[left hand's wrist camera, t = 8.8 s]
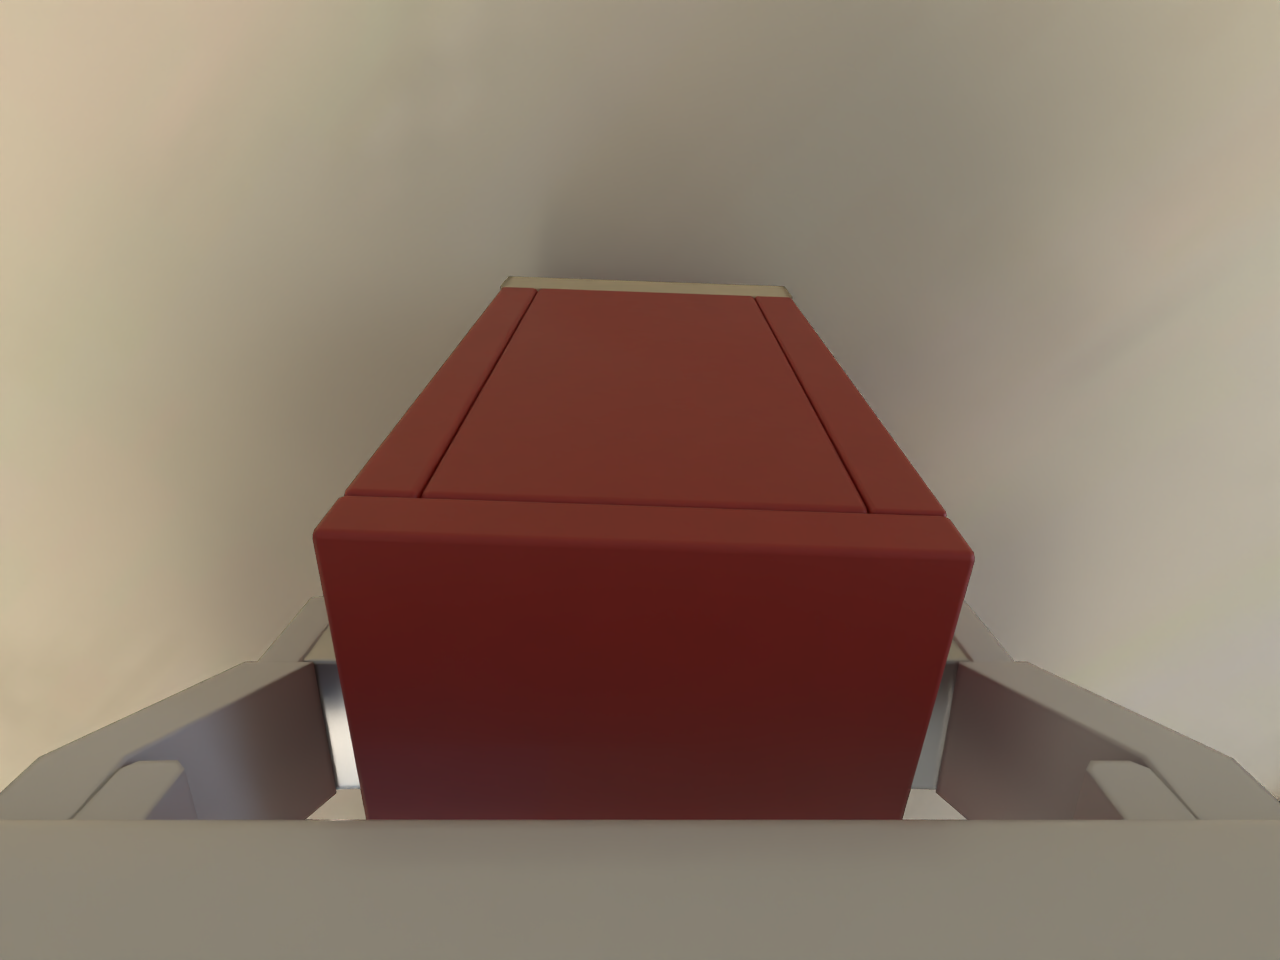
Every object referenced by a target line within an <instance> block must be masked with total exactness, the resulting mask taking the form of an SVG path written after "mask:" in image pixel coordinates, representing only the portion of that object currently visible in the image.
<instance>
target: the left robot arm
mask: <svg viewBox="0 0 1280 960" xmlns="http://www.w3.org/2000/svg"><path fill="white" fill-rule="evenodd" d="M336 789H360V784H359V778H358V773H357V768H356V763H355V758H354V752H353V747H352V742H351V737H350V731H349V726H348V721H347V716H346V710H345V705H344V700H343V695H342V690H341V684H340V679H339V674H338V669H337V663H336V658H335V653H334V648H333V642H332V637H331V632H330V627H329V622H328V616H327V611H326V606H325V601H324V596H319V597H312V598H311V599H310V600H309V601H308V602H307V603H306V604H305V605H304V607H303V608H302V609H301V610H300V611H299V613H298V614H297V615H296V616H295V617H294V619H293V620H292V621H291V622H290V623H289V625H288V626H287V627H286V628H285V629H284V631H283V632H282V633H281V634H280V635H279V636H278V638H277V639H276V640H275V641H274V642H273V644H272V645H271V646H270V647H269V648H268V650H267V651H266V652H265V653H264V654H263V656H262V657H261V658H260V659H259V660H258V662H244V663H241V664H239V665H237V666H235V667H233V668H231V669H228V670H226V671H224V672H222V673H220V674H218V675H215V676H213V677H211V678H209V679H207V680H205V681H203V682H200V683H198V684H196V685H194V686H192V687H190V688H187V689H185V690H183V691H181V692H179V693H177V694H174V695H172V696H170V697H168V698H166V699H164V700H162V701H159V702H157V703H155V704H153V705H151V706H149V707H146V708H144V709H142V710H140V711H138V712H136V713H133V714H131V715H129V716H127V717H125V718H123V719H120V720H118V721H116V722H114V723H112V724H110V725H108V726H105V727H103V728H101V729H99V730H97V731H95V732H92V733H90V734H88V735H86V736H84V737H82V738H79V739H77V740H75V741H73V742H71V743H69V744H67V745H64V746H62V747H60V748H58V749H56V750H54V751H51V752H49V753H47V754H45V755H43V756H41V757H39V758H37V759H36V760H35V761H34V762H33V763H32V764H31V765H30V766H29V767H28V768H27V769H26V770H24V771H23V772H22V773H21V774H20V775H19V776H18V777H17V778H16V779H15V780H14V781H12V782H11V783H10V784H9V785H8V786H7V787H6V788H5V789H4V790H3V791H2V792H1V793H0V960H1280V802H1279V801H1278V800H1277V799H1276V798H1275V797H1273V796H1272V795H1271V794H1270V793H1269V792H1268V791H1267V790H1266V789H1265V788H1264V787H1263V786H1262V785H1261V784H1260V783H1259V782H1258V781H1256V780H1255V779H1254V778H1253V777H1252V776H1251V775H1250V774H1249V773H1248V772H1247V771H1246V770H1245V769H1244V768H1243V767H1242V766H1241V765H1240V764H1238V763H1237V762H1236V761H1235V760H1234V759H1233V758H1231V757H1229V756H1227V755H1225V754H1222V753H1220V752H1218V751H1216V750H1214V749H1212V748H1210V747H1208V746H1205V745H1203V744H1201V743H1199V742H1197V741H1195V740H1193V739H1190V738H1188V737H1186V736H1184V735H1182V734H1180V733H1178V732H1176V731H1173V730H1171V729H1169V728H1167V727H1165V726H1163V725H1161V724H1159V723H1156V722H1154V721H1152V720H1150V719H1148V718H1146V717H1144V716H1141V715H1139V714H1137V713H1135V712H1133V711H1131V710H1129V709H1127V708H1124V707H1122V706H1120V705H1118V704H1116V703H1114V702H1112V701H1109V700H1107V699H1105V698H1103V697H1101V696H1099V695H1097V694H1095V693H1092V692H1090V691H1088V690H1086V689H1084V688H1082V687H1080V686H1078V685H1075V684H1073V683H1071V682H1069V681H1067V680H1065V679H1063V678H1060V677H1058V676H1056V675H1054V674H1052V673H1050V672H1048V671H1046V670H1043V669H1041V668H1039V667H1037V666H1035V665H1033V664H1031V663H1028V662H1015V661H1014V660H1013V659H1012V658H1011V657H1010V655H1009V654H1008V653H1007V652H1006V651H1005V649H1004V648H1003V647H1002V646H1001V644H1000V643H999V642H998V641H997V640H996V638H995V637H994V636H993V635H992V634H991V632H990V631H989V630H988V629H987V627H986V626H985V625H984V624H983V623H982V621H981V620H980V619H979V618H978V617H977V615H976V614H975V613H974V612H973V610H972V609H971V608H970V607H969V606H968V604H967V603H966V602H965V601H963V604H962V608H961V611H960V615H959V618H958V622H957V626H956V629H955V633H954V636H953V640H952V643H951V647H950V651H949V654H948V658H947V661H946V665H945V668H944V672H943V675H942V679H941V683H940V686H939V690H938V693H937V697H936V700H935V704H934V708H933V711H932V715H931V718H930V722H929V725H928V729H927V733H926V736H925V740H924V743H923V747H922V750H921V754H920V758H919V761H918V765H917V768H916V772H915V775H914V779H913V783H912V786H911V789H936V793H937V794H938V795H940V796H941V797H942V798H943V799H944V800H945V801H946V802H948V803H949V804H950V805H951V806H952V807H953V808H955V809H956V810H957V811H958V812H959V813H960V814H962V815H963V816H964V817H965V818H966V819H967V820H305V819H306V818H308V817H309V816H310V815H311V814H312V813H313V812H315V811H316V810H317V809H318V808H319V807H320V806H322V805H323V804H324V803H325V802H326V801H328V800H329V799H330V798H331V797H332V796H333V795H335V794H336Z"/></svg>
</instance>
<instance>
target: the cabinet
mask: <svg viewBox="0 0 1280 960" xmlns="http://www.w3.org/2000/svg"><path fill="white" fill-rule="evenodd" d="M313 543H314V548H315V554H316V559H317V564H318V569H319V574H320V580H321V585H322V590H323V595H324V601H325V606H326V611H327V616H328V622H329V627H330V632H331V637H332V642H333V648H334V653H335V658H336V663H337V669H338V674H339V679H340V684H341V690H342V695H343V700H344V705H345V710H346V716H347V721H348V726H349V731H350V737H351V742H352V747H353V752H354V758H355V763H356V768H357V773H358V778H359V784H360V789H361V794H362V799H363V805H364V810H365V815H366V820H902V818H903V815H904V811H905V808H906V804H907V800H908V797H909V793H910V790H911V786H912V783H913V779H914V775H915V772H916V768H917V765H918V761H919V758H920V754H921V750H922V747H923V743H924V740H925V736H926V733H927V729H928V725H929V722H930V718H931V715H932V711H933V708H934V704H935V700H936V697H937V693H938V690H939V686H940V683H941V679H942V675H943V672H944V668H945V665H946V661H947V658H948V654H949V651H950V647H951V643H952V640H953V636H954V633H955V629H956V626H957V622H958V618H959V615H960V611H961V608H962V604H963V601H964V597H965V593H966V590H967V586H968V583H969V579H970V576H971V572H972V568H973V565H974V561H975V557H974V552H973V551H972V549H971V548H970V547H969V545H968V544H967V542H966V541H965V540H964V538H963V537H962V536H961V534H960V533H959V531H958V530H957V529H956V527H955V526H954V524H953V523H952V522H951V520H950V519H948V518H946V511H945V510H944V509H943V507H942V506H941V505H940V503H939V502H938V500H937V499H936V498H935V496H934V495H933V493H932V492H931V491H930V489H929V488H928V487H927V485H926V484H925V482H924V481H923V480H922V478H921V477H920V476H919V474H918V473H917V471H916V470H915V469H914V467H913V466H912V464H911V463H910V462H909V460H908V459H907V458H906V456H905V455H904V453H903V452H902V451H901V449H900V448H899V447H898V445H897V444H896V442H895V441H894V440H893V438H892V437H891V436H890V434H889V433H888V431H887V430H886V429H885V427H884V426H883V424H882V423H881V422H880V420H879V419H878V418H877V416H876V415H875V413H874V412H873V411H872V409H871V408H870V407H869V405H868V404H867V402H866V401H865V400H864V398H863V397H862V395H861V394H860V393H859V391H858V390H857V389H856V387H855V386H854V384H853V383H852V382H851V380H850V379H849V378H848V376H847V375H846V373H845V372H844V371H843V369H842V368H841V366H840V365H839V364H838V362H837V361H836V360H835V358H834V357H833V355H832V354H831V353H830V351H829V350H828V349H827V347H826V346H825V344H824V343H823V342H822V340H821V339H820V338H819V336H818V335H817V333H816V332H815V331H814V329H813V328H812V326H811V325H810V324H809V322H808V321H807V320H806V318H805V317H804V315H803V314H802V313H801V311H800V310H799V309H798V307H797V306H796V304H795V303H794V302H793V300H792V296H791V295H790V293H789V292H788V291H787V289H786V288H785V287H784V286H758V285H731V284H703V283H676V282H648V281H621V280H593V279H566V278H539V277H511V276H509V277H508V278H507V279H506V280H505V281H504V283H503V284H502V285H501V287H500V292H499V293H498V294H497V296H496V297H495V298H494V300H493V301H492V302H491V303H490V305H489V306H488V307H487V309H486V310H485V311H484V312H483V314H482V315H481V316H480V318H479V319H478V320H477V321H476V323H475V324H474V325H473V327H472V328H471V329H470V330H469V332H468V333H467V334H466V336H465V337H464V338H463V340H462V341H461V342H460V343H459V345H458V346H457V347H456V349H455V350H454V351H453V352H452V354H451V355H450V356H449V358H448V359H447V360H446V361H445V363H444V364H443V365H442V367H441V368H440V369H439V370H438V372H437V373H436V374H435V376H434V377H433V378H432V380H431V381H430V382H429V383H428V385H427V386H426V387H425V389H424V390H423V391H422V392H421V394H420V395H419V396H418V398H417V399H416V400H415V401H414V403H413V404H412V405H411V407H410V408H409V409H408V411H407V412H406V413H405V414H404V416H403V417H402V418H401V420H400V421H399V422H398V423H397V425H396V426H395V427H394V429H393V430H392V431H391V432H390V434H389V435H388V436H387V438H386V439H385V440H384V441H383V443H382V444H381V445H380V447H379V448H378V449H377V451H376V452H375V453H374V454H373V456H372V457H371V458H370V460H369V461H368V462H367V463H366V465H365V466H364V467H363V469H362V470H361V471H360V472H359V474H358V475H357V476H356V478H355V479H354V480H353V482H352V483H351V484H350V485H349V487H348V488H347V489H346V491H345V494H344V497H341V498H339V499H338V500H337V501H336V502H335V504H334V505H333V506H332V508H331V509H330V510H329V511H328V513H327V514H326V515H325V517H324V518H323V519H322V520H321V522H320V523H319V524H318V526H317V527H316V528H315V529H314V532H313Z"/></svg>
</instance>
